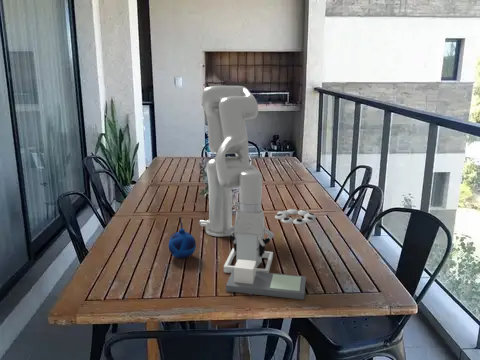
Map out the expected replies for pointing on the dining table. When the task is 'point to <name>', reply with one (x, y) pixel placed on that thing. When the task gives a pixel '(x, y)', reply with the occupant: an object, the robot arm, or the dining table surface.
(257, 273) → the grey base with cube
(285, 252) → the dining table surface
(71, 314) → the dining table surface
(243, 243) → the supplement box
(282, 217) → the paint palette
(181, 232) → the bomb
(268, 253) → the white square frame
